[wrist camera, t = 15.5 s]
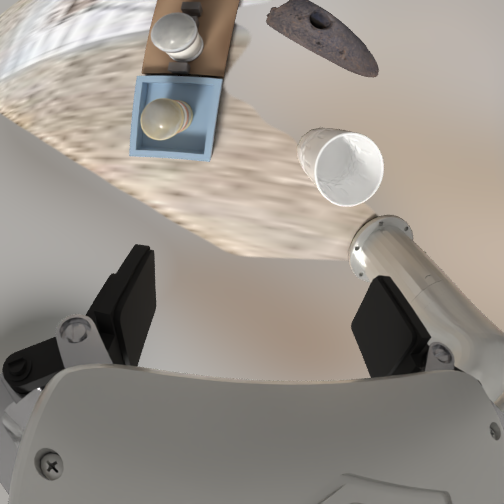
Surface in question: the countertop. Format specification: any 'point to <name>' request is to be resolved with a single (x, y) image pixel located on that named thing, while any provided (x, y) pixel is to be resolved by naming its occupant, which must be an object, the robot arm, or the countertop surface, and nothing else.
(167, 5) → the fuse holder
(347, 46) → the perforated stone tool
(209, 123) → the tray
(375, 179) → the white cup
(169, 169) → the countertop surface
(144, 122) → the marked fuse
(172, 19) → the grey rounded cylinder
